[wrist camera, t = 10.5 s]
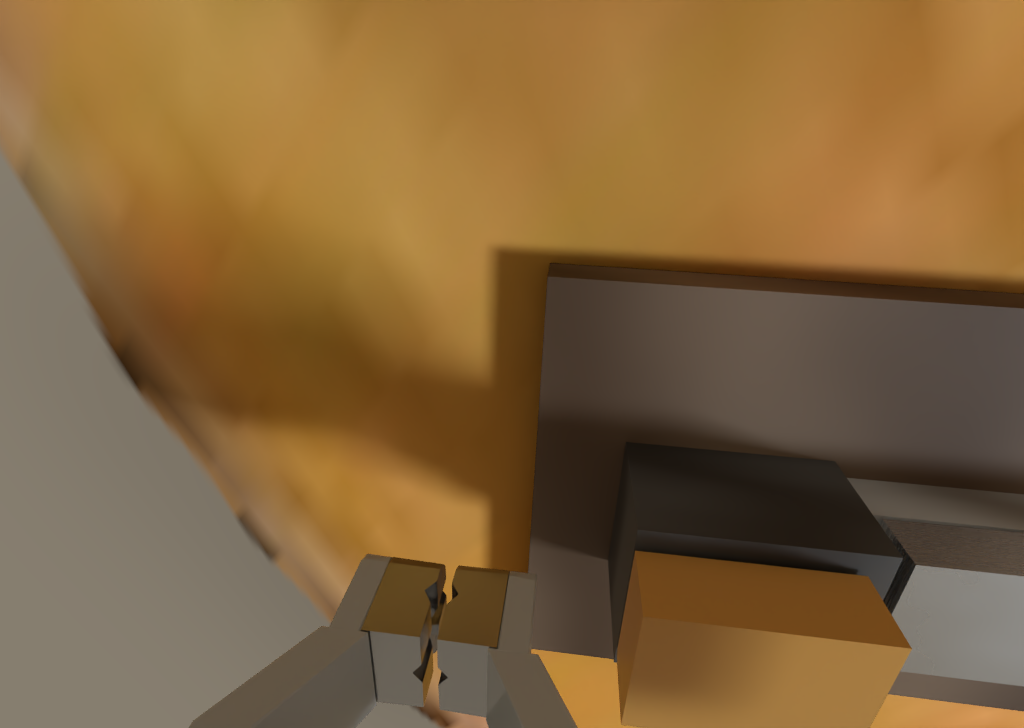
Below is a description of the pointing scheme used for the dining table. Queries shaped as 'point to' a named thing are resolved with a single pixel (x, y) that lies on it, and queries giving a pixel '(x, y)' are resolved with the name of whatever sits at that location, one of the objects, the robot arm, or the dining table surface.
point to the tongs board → (765, 434)
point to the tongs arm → (959, 600)
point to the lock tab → (753, 646)
